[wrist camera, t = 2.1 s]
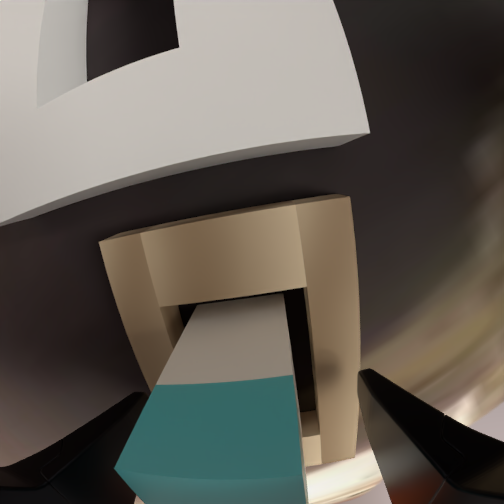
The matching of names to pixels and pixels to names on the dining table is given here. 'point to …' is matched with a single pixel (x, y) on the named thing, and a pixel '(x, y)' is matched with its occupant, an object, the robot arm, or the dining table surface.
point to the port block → (166, 97)
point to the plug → (222, 413)
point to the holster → (252, 283)
